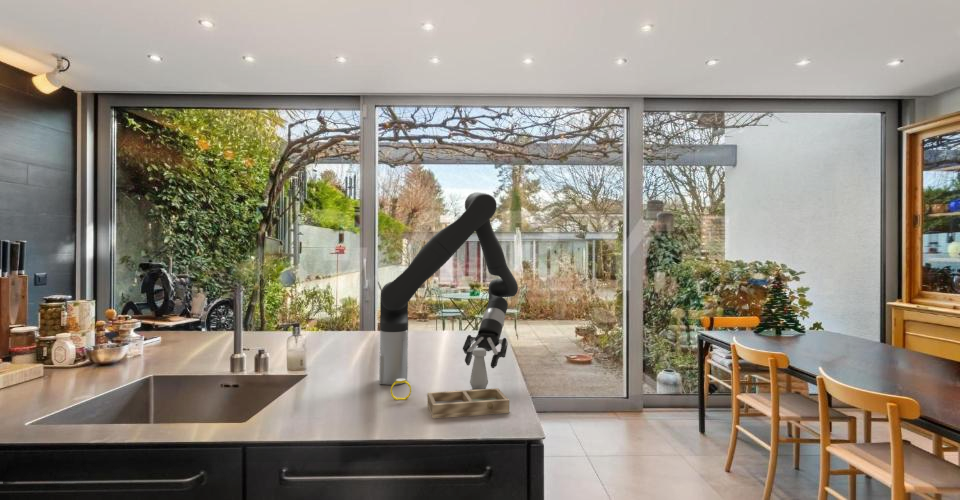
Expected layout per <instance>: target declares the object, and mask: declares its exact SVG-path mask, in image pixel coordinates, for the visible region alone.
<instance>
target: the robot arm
mask: <svg viewBox="0 0 960 500" xmlns="http://www.w3.org/2000/svg"><path fill="white" fill-rule="evenodd" d="M497 207H498V205H497V201H496V199H495V197H494V196H492V195H491V194H489V193H486V192H478V191H477V192H473V193H470V194H469V195H468V196H467V197H466V198H465V202H464V210H465V211H464V212H463V213H462V214H461V215H459V217H458V218H457V219H456V220H454V221H453V222H452V223H450V224H449V225H446V226H445V227H444V228H442V229H441V230H439V231H437V232H436V233H435V234H434V236H432V237H431V238H430V239H429V240H428V241H427V242H426V243H425V244H424V245H423V247H422V248H421V249H420V250H419V252H418V253H417V254H416V255H415V257H414V258H413V260H412V261H411V262H410V264H409V265H408V267H407V268H406V269H405V270H404V271H403V272H401V273H400V274H399V275H398V276H397V277H396V278H395V279H393V280H392V281H389V282H388V283H386V284H385V285H383V287H382V289H381V290H380V297H379V298H380V304H379V305H380V307H379V308H380V309H379V310H380V312H379V313H380V314H379V315H380V316H379V358H378V359H379V361H378V362H379V363H378V365H379V367H378V374H379V376H378V379H379V385H388V386H392V385H393V383H394V382H396V380H397V379H400V378H404V379H406V381H407V382H408V376H409V375H408V374H409V373H408V368H409V366H408V365H409V363H408V362H409V360H408V359H409V302H410V300H411V299H412V298H413V297H414V295H416V293H417V292H418V290H419V289H420V288H421V287H422V286H423V284H424V283H425V282H426V281H427V280H429V279H430V278H431V277H432V276H434V274H436V273H437V271H439V270H440V269H441V268H442V267H443V266H444V265H445V264H446V263H447V262H448V261H449V260H450V259H451V258H452V257H453V256H454V255H455V253H456V252H458V250H459V249H460V248H461V247H462V246H463V245H464V244H465V242H466V241H468V239H470V237H471V236H472V235H473V234H474V233H475V234H476V236H477V239H478V242H479V244H480V247H481V250H482V254H483V258H484V261H485V264H486V268H487V272H488V273H489V275H492V276H496V277H499V278H494V279H492V280H491V281H490V282H489V284H488V303H487V306H486V308H485V312H484V314H483V316H482V319H481V322H480V325H479V328H478V331H477V335H476V336H472V335H471V334H468V335H467V336H466V339H465V341H464V344H463V346H462V351H463V352H464V354H465V357H464V362H465V364H466V366H470V364H471V362H472V359H473V350H474V349H475V348H484V349H485V350H486V352H491V351H492V353H493V355H492V358H491V362H490V368H491V369H495V368H496V367H497V365H498V362H499V360H500V358H506V355H507V350H508V344H509V343H508V339H507V338H506V337H503V338H501V334H502V331H503V328H504V326H505V325H504V324H505V318H506V315H507V312H508V307H509V303H508V301H507V300H506V299H505V298H513V297H515V296H517V294H518V291H519V290H518V289H519V285H518V282H517V280H516V278H515V277H514V275H513V274H512V272H511V270H510V268H509V266H508V263H507V261H506V257H505V254H504V251H503V248H502V246H501V243H500V242H499V239H498V237H497V236H496V233H495V231H494V229H493V227H492V222H491V219H492V217H493V216H494V215H495V213H496V210H497ZM500 338H501V339H500ZM499 345H500V351H498V350H497V348H496V347H497V346H499ZM403 384H404V383H396V384H395V385H403ZM395 385H394V386H395Z"/></svg>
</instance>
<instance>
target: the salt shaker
mask: <svg viewBox="0 0 960 500" xmlns="http://www.w3.org/2000/svg"><path fill="white" fill-rule="evenodd" d="M486 356H487V351H486V350H485V349H484V348H477V347H476V348H475V349H474V350H473V355H472V357H473V362H472V363H473V364H472V369H471V374H470V379H469V384H470V387H471V390H479V389H487V387H488V384H489V377H488V372H487V367H486V366H487V365H486V361H485V357H486Z"/></svg>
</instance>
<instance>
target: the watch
mask: <svg viewBox="0 0 960 500" xmlns="http://www.w3.org/2000/svg"><path fill="white" fill-rule="evenodd" d="M396 383H403V384H406V385H407V386H408V388H409V393H408V395H407V396H405V397H397V396H395V395H394V393H393V388H394V386H395V384H396ZM390 386H391V387H390V395H391V397H392V398H393V399H394V400H395V401H407V400H408V399H409V398H410V396H411V393H412V385H411V384H410V383H409V381H408V380H407V381H406V379H404V378H400V379H397V380H396V382H394V383H393V385H390Z"/></svg>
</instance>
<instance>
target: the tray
mask: <svg viewBox="0 0 960 500" xmlns="http://www.w3.org/2000/svg"><path fill="white" fill-rule="evenodd" d="M426 402H427V404H426V405H427V408H428V410H429V412H430V415H431V418H432V419H442V418H443V419H444V418H457V417H458V418H461V417H470V416H471V417H472V416H486V415H499V414H509V413H510V399H509V397H507V395H505V394H504V392H502V390H501V389H499V388H498V387H497V388H496V387H495V388H486V389H479V390H473V389H468V390H467V389H465V390H450V391H448V390H447V391H446V390H445V391H433V392H432V391H431V392H430V391H429V392H427V401H426Z"/></svg>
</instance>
